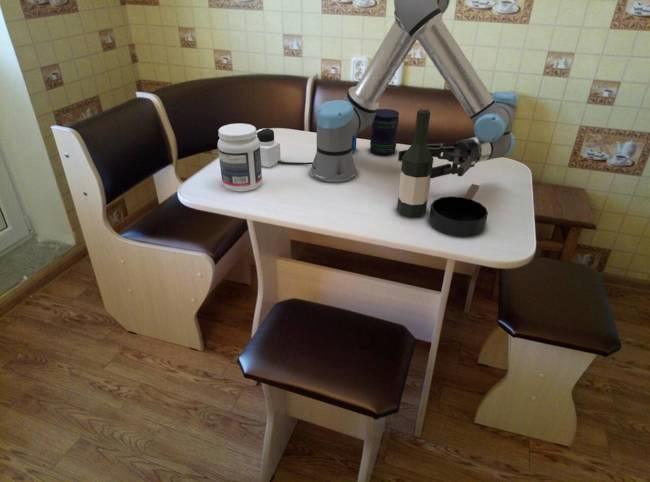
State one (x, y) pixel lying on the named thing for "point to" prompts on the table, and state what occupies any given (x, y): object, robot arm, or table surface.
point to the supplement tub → (239, 157)
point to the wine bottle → (416, 171)
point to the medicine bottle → (268, 148)
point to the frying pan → (459, 214)
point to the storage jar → (384, 132)
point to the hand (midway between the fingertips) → (414, 164)
